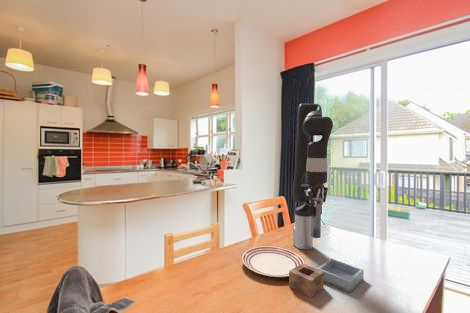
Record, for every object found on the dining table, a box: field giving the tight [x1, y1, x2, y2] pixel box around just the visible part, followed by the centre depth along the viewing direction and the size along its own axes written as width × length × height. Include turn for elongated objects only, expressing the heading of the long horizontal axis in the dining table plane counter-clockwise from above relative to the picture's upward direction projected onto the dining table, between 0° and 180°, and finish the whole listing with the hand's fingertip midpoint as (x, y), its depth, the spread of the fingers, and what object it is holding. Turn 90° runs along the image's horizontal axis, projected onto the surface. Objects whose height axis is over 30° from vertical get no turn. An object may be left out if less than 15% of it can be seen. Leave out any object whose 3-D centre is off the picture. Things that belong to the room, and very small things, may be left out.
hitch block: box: [288, 263, 325, 299], centre depth 86 cm, size 9×9×6 cm
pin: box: [311, 197, 323, 239], centre depth 88 cm, size 5×5×15 cm
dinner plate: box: [241, 245, 306, 278], centre depth 103 cm, size 27×27×3 cm
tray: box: [316, 258, 364, 294], centre depth 92 cm, size 13×13×4 cm
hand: (315, 214), depth 88 cm, fingers closed on pin, 3 cm apart
